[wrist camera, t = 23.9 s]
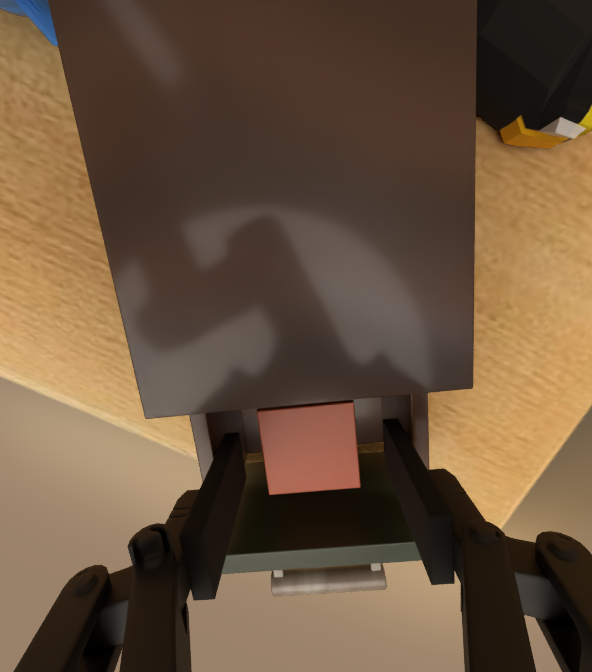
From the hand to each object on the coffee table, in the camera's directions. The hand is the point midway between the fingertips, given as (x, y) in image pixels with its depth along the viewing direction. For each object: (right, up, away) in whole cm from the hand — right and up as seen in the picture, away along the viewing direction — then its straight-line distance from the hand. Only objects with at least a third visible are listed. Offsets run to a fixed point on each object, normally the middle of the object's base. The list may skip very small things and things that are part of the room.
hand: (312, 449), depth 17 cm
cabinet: (-1, +13, +4) cm, 14 cm away
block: (0, +1, +5) cm, 5 cm away
